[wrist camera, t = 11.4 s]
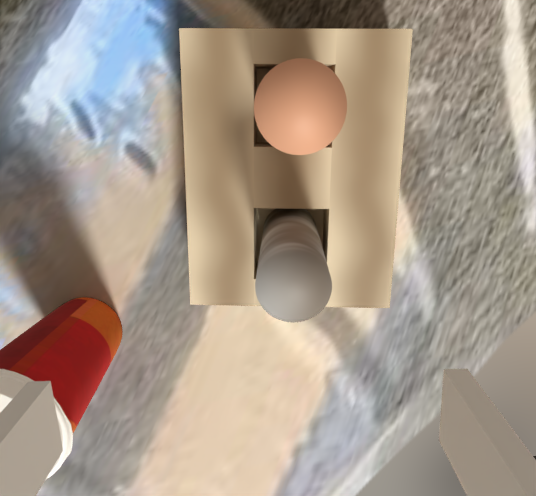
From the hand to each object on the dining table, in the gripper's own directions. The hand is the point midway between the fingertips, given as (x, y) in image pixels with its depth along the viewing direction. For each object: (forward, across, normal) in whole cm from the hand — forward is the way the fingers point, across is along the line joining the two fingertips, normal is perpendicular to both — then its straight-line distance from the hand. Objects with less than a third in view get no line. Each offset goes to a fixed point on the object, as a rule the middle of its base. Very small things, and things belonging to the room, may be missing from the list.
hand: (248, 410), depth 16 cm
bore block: (+24, +2, +5) cm, 24 cm away
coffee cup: (+24, -15, -8) cm, 30 cm away
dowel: (+22, +3, +10) cm, 24 cm away
